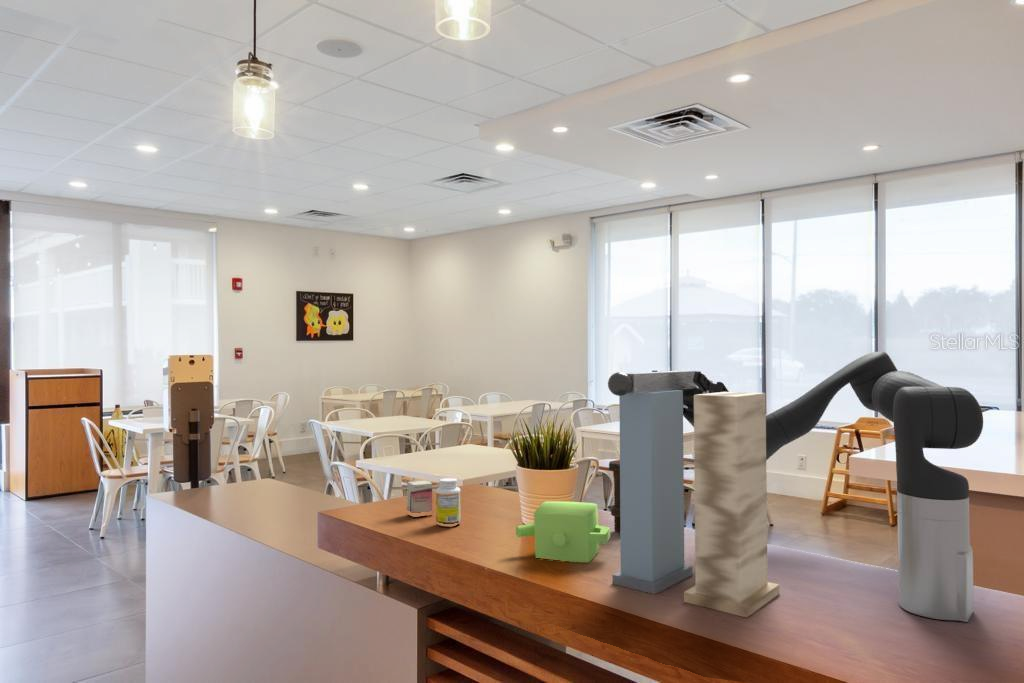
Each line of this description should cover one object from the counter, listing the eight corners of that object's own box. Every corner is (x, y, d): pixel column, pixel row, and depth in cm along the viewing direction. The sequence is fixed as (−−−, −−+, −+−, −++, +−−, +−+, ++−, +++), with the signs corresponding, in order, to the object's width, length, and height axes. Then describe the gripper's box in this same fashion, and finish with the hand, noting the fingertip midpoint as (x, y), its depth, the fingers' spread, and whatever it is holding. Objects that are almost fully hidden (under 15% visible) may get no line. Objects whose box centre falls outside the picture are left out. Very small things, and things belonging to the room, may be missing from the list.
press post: (692, 574, 120) (690, 390, 121) (655, 594, 110) (653, 393, 111) (651, 565, 125) (650, 388, 126) (612, 583, 116) (611, 392, 116)
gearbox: (509, 562, 130) (507, 512, 130) (524, 545, 139) (523, 498, 139) (604, 569, 124) (602, 516, 124) (613, 551, 134) (612, 502, 133)
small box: (413, 518, 162) (412, 484, 162) (406, 514, 166) (406, 481, 166) (433, 516, 165) (432, 482, 165) (426, 512, 168) (426, 480, 169)
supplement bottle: (444, 521, 160) (444, 476, 160) (465, 523, 157) (465, 478, 157) (431, 526, 155) (431, 480, 155) (452, 529, 152) (452, 482, 152)
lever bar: (697, 389, 127) (697, 369, 127) (623, 396, 108) (623, 372, 108) (678, 389, 130) (678, 369, 130) (603, 396, 111) (603, 372, 111)
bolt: (633, 535, 146) (632, 464, 146) (609, 534, 147) (608, 463, 147) (633, 528, 152) (633, 460, 152) (610, 527, 153) (610, 459, 153)
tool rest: (779, 593, 110) (777, 393, 111) (746, 617, 101) (744, 397, 101) (719, 580, 117) (717, 391, 117) (683, 601, 107) (681, 394, 108)
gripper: (740, 435, 129) (706, 395, 118) (671, 429, 138) (633, 392, 128) (747, 399, 132) (715, 356, 121) (679, 396, 141) (644, 357, 131)
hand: (673, 375), depth 125 cm, fingers open, 8 cm apart
